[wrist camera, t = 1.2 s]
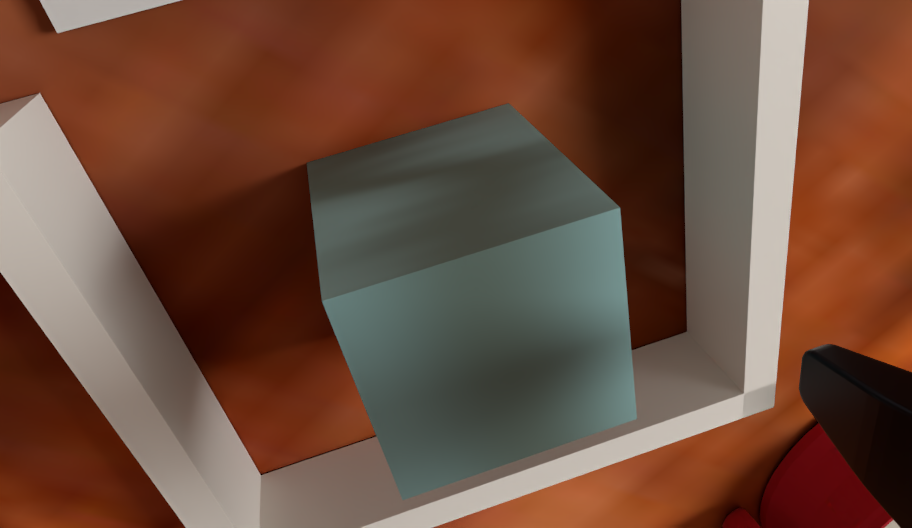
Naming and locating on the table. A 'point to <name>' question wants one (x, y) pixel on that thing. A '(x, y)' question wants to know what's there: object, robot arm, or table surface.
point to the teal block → (473, 295)
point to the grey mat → (93, 11)
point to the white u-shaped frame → (363, 464)
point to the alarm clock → (814, 492)
